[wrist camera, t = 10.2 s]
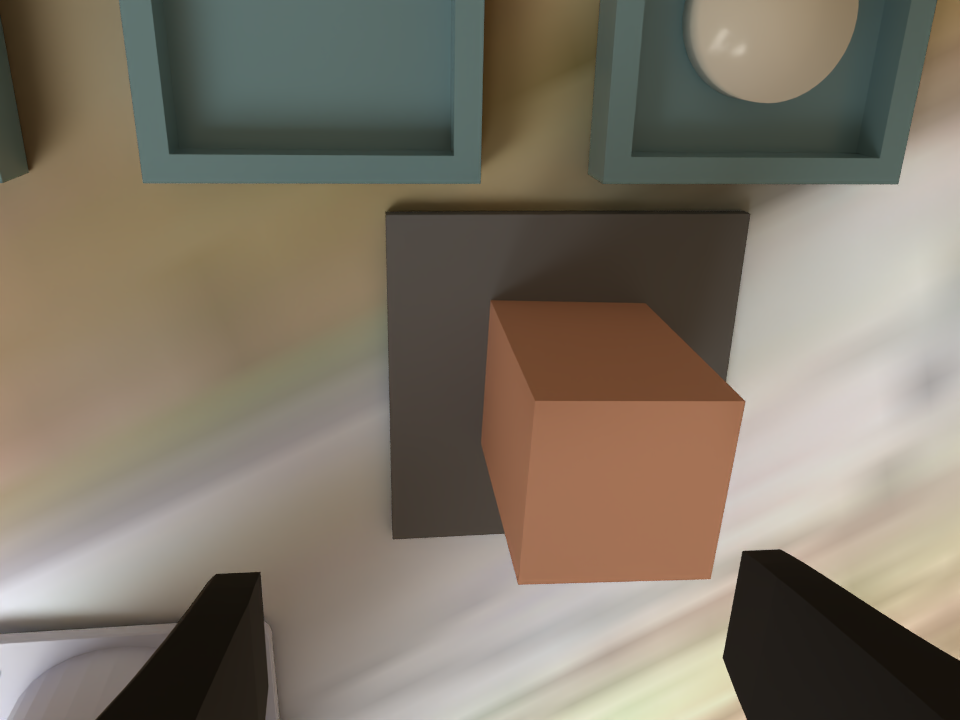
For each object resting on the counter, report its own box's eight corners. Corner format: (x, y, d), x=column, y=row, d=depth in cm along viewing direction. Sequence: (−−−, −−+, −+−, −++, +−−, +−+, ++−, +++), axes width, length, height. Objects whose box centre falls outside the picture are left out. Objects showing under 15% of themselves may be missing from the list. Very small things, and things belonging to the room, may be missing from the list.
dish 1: (473, 173, 19) (480, 183, 18) (159, 172, 18) (143, 183, 17) (479, -182, 17) (488, -200, 15) (112, -203, 16) (89, -224, 14)
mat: (699, 515, 24) (705, 523, 23) (392, 531, 23) (392, 539, 22) (743, 210, 20) (750, 213, 20) (385, 211, 19) (385, 214, 19)
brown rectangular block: (628, 442, 22) (713, 579, 17) (481, 443, 22) (518, 585, 16) (648, 303, 21) (749, 401, 15) (490, 300, 20) (534, 401, 15)
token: (845, 64, 19) (870, 66, 18) (704, 123, 19) (722, 128, 18) (817, -100, 18) (843, -107, 17) (664, -35, 18) (680, -39, 17)
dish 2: (864, 174, 20) (898, 184, 19) (587, 174, 20) (602, 183, 18) (929, -157, 18) (973, -172, 17) (612, -175, 17) (631, -192, 16)
